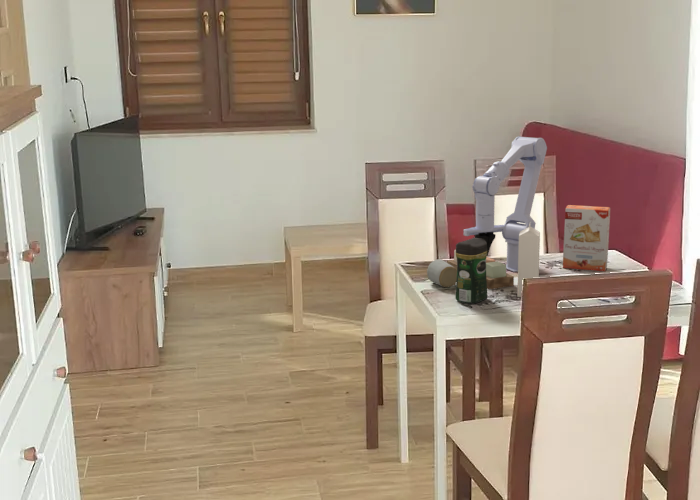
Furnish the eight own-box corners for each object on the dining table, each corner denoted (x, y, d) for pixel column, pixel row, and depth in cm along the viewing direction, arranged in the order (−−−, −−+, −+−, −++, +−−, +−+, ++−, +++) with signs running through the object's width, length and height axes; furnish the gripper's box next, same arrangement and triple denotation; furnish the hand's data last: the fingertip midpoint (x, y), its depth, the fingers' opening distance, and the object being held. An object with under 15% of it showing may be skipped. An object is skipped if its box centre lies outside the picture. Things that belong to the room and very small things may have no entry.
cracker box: (562, 268, 287) (564, 207, 282) (565, 264, 292) (567, 204, 287) (605, 272, 281) (608, 209, 276) (607, 267, 287) (610, 206, 282)
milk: (517, 297, 257) (518, 225, 252) (518, 291, 263) (519, 221, 257) (538, 298, 255) (539, 225, 250) (538, 292, 261) (540, 221, 256)
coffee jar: (469, 293, 261) (470, 234, 257) (491, 298, 256) (492, 238, 252) (450, 301, 254) (450, 240, 250) (472, 306, 249) (473, 244, 245)
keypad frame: (469, 265, 293) (469, 257, 292) (513, 285, 268) (513, 276, 268) (447, 269, 290) (447, 260, 289) (489, 289, 265) (489, 280, 265)
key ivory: (467, 259, 290) (467, 248, 289) (474, 263, 286) (474, 251, 285) (454, 261, 288) (454, 250, 287) (461, 265, 284) (461, 253, 283)
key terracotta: (486, 268, 279) (487, 256, 278) (495, 272, 274) (495, 260, 273) (473, 270, 277) (473, 258, 276) (481, 274, 272) (481, 262, 271)
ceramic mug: (439, 290, 266) (440, 266, 264) (426, 283, 273) (426, 260, 271) (468, 285, 270) (469, 262, 269) (454, 279, 278) (455, 256, 276)
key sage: (497, 273, 273) (497, 261, 272) (506, 277, 268) (506, 264, 268) (483, 275, 271) (484, 263, 270) (492, 279, 267) (492, 266, 266)
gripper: (498, 209, 277) (497, 250, 281) (458, 213, 272) (458, 255, 275) (510, 213, 271) (509, 255, 274) (470, 217, 266) (469, 260, 269)
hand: (484, 255), depth 274 cm, fingers closed
